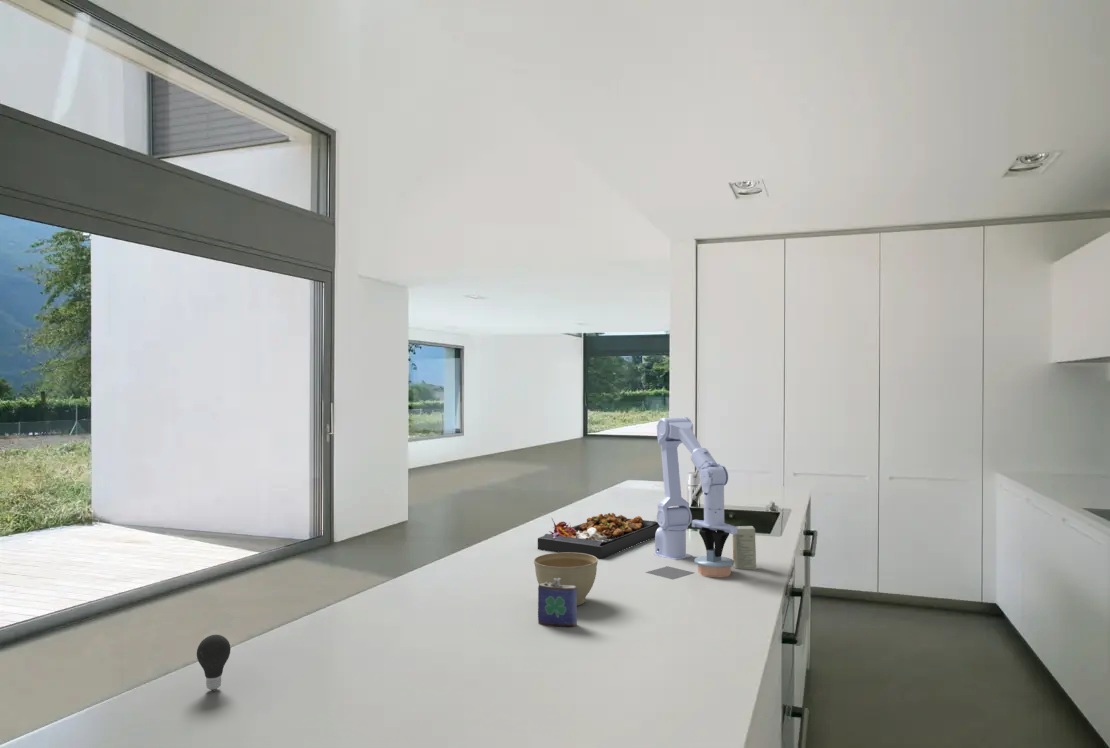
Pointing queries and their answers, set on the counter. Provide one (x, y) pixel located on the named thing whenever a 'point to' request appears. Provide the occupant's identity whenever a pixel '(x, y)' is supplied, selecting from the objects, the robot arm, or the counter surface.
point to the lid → (713, 560)
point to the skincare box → (744, 548)
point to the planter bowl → (568, 571)
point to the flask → (557, 604)
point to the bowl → (714, 571)
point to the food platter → (598, 535)
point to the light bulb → (213, 659)
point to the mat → (669, 572)
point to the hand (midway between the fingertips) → (714, 555)
